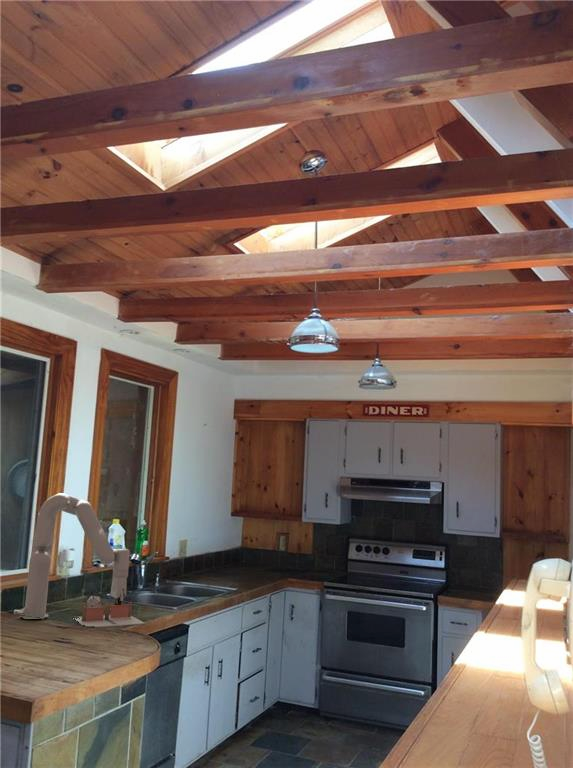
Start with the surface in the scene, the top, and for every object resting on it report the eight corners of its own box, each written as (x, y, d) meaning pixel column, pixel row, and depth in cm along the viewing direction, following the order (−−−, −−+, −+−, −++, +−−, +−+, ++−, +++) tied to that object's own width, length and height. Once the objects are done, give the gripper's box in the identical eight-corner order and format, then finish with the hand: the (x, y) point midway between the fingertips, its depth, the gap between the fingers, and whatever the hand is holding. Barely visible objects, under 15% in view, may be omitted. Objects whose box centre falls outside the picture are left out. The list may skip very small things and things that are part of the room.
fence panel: (110, 618, 321) (111, 604, 322) (109, 617, 323) (110, 603, 324) (131, 617, 327) (132, 603, 328) (130, 616, 328) (131, 602, 330)
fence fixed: (82, 621, 314) (83, 606, 315) (80, 620, 315) (82, 605, 316) (109, 619, 321) (110, 604, 322) (108, 618, 322) (109, 603, 324)
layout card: (86, 628, 302) (86, 627, 302) (71, 618, 322) (71, 617, 322) (144, 623, 317) (144, 622, 317) (127, 614, 337) (127, 613, 337)
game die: (95, 618, 343) (108, 601, 347) (92, 615, 335) (105, 598, 340) (82, 608, 345) (95, 591, 349) (78, 604, 337) (92, 588, 342)
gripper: (108, 572, 338) (105, 609, 335) (118, 576, 325) (115, 615, 323) (122, 571, 342) (119, 608, 339) (132, 575, 329) (130, 614, 327)
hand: (117, 611), depth 331 cm, fingers closed
